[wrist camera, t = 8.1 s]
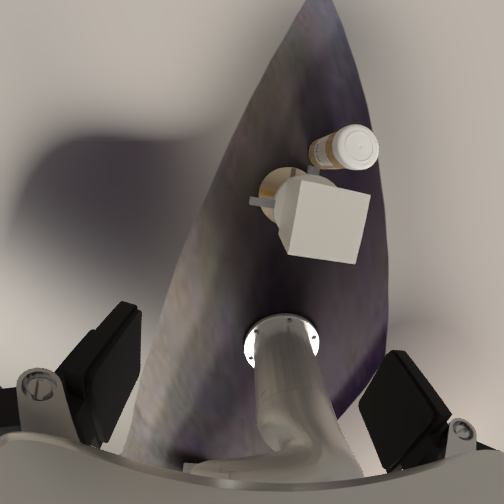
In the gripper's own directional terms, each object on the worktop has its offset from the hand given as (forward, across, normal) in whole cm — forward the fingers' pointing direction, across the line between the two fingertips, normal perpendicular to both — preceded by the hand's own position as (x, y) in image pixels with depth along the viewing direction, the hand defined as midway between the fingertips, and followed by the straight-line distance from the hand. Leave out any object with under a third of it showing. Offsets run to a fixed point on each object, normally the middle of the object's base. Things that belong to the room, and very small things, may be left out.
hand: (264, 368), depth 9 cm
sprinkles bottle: (+31, -7, -12) cm, 34 cm away
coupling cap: (+19, -3, -4) cm, 19 cm away
